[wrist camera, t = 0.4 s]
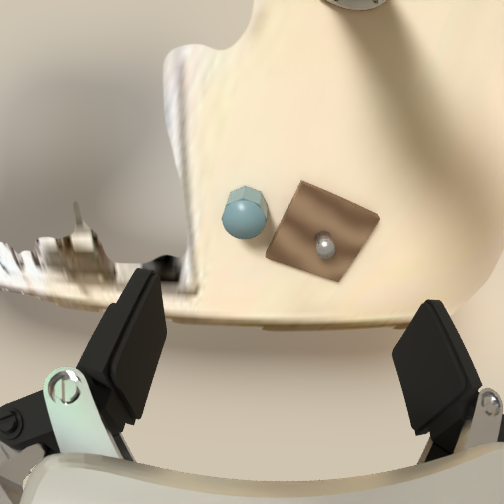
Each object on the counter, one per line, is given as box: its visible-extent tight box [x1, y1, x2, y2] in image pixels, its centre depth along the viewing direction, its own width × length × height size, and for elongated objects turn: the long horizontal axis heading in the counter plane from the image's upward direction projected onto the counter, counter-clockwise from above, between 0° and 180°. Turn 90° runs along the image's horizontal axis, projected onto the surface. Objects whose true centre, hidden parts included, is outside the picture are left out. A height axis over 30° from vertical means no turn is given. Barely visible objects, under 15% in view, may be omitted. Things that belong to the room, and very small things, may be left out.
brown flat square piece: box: [266, 181, 380, 282], centre depth 45 cm, size 14×14×2 cm
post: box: [314, 231, 335, 258], centre depth 43 cm, size 3×3×4 cm
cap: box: [222, 186, 268, 239], centre depth 42 cm, size 6×6×5 cm
